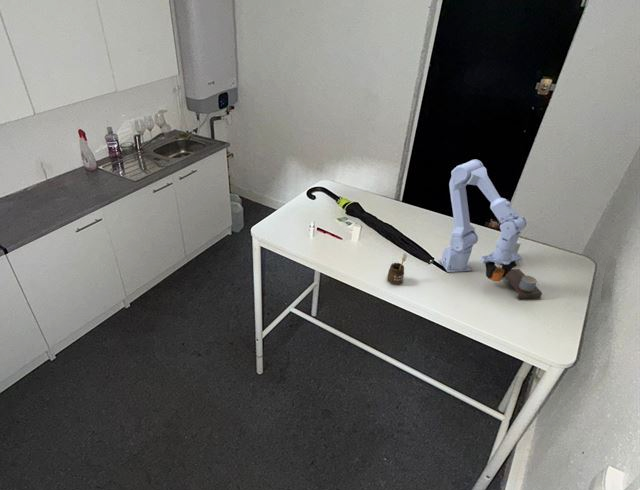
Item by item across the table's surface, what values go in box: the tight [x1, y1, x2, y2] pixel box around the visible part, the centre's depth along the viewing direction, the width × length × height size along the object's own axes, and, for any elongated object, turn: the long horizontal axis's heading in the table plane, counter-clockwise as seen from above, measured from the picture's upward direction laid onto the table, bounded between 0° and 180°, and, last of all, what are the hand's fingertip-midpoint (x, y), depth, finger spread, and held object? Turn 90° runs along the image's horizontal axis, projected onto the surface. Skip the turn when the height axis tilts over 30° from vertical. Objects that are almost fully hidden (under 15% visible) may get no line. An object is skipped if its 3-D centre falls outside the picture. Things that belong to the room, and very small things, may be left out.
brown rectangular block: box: [503, 268, 543, 300], centre depth 155 cm, size 8×15×3 cm, turn 2°
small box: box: [493, 232, 522, 265], centre depth 167 cm, size 8×6×10 cm
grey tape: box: [519, 275, 538, 292], centre depth 150 cm, size 5×5×4 cm
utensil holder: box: [387, 252, 408, 285], centre depth 159 cm, size 6×6×12 cm
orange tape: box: [488, 265, 505, 283], centre depth 154 cm, size 5×5×4 cm
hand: (494, 276), depth 155 cm, fingers closed on orange tape, 5 cm apart
